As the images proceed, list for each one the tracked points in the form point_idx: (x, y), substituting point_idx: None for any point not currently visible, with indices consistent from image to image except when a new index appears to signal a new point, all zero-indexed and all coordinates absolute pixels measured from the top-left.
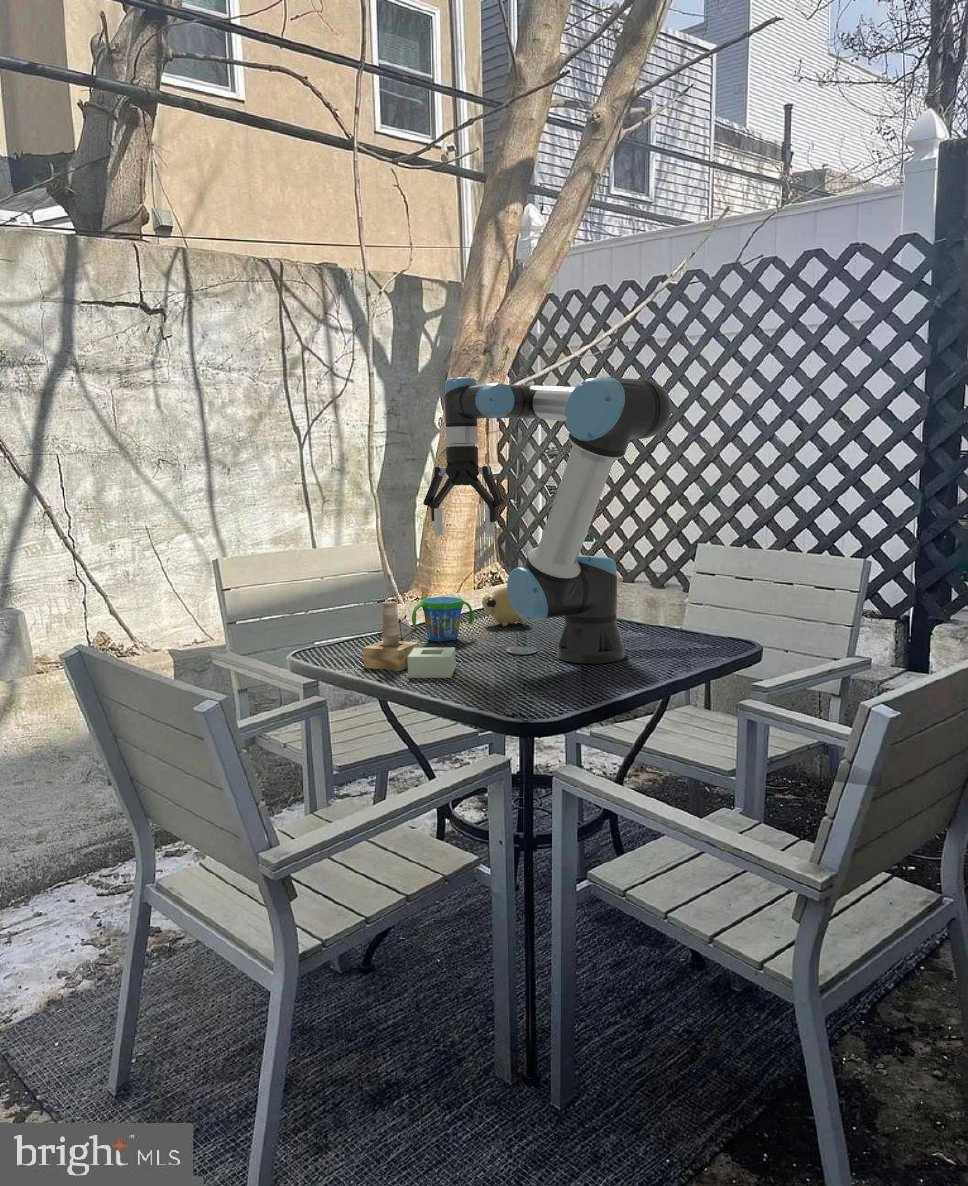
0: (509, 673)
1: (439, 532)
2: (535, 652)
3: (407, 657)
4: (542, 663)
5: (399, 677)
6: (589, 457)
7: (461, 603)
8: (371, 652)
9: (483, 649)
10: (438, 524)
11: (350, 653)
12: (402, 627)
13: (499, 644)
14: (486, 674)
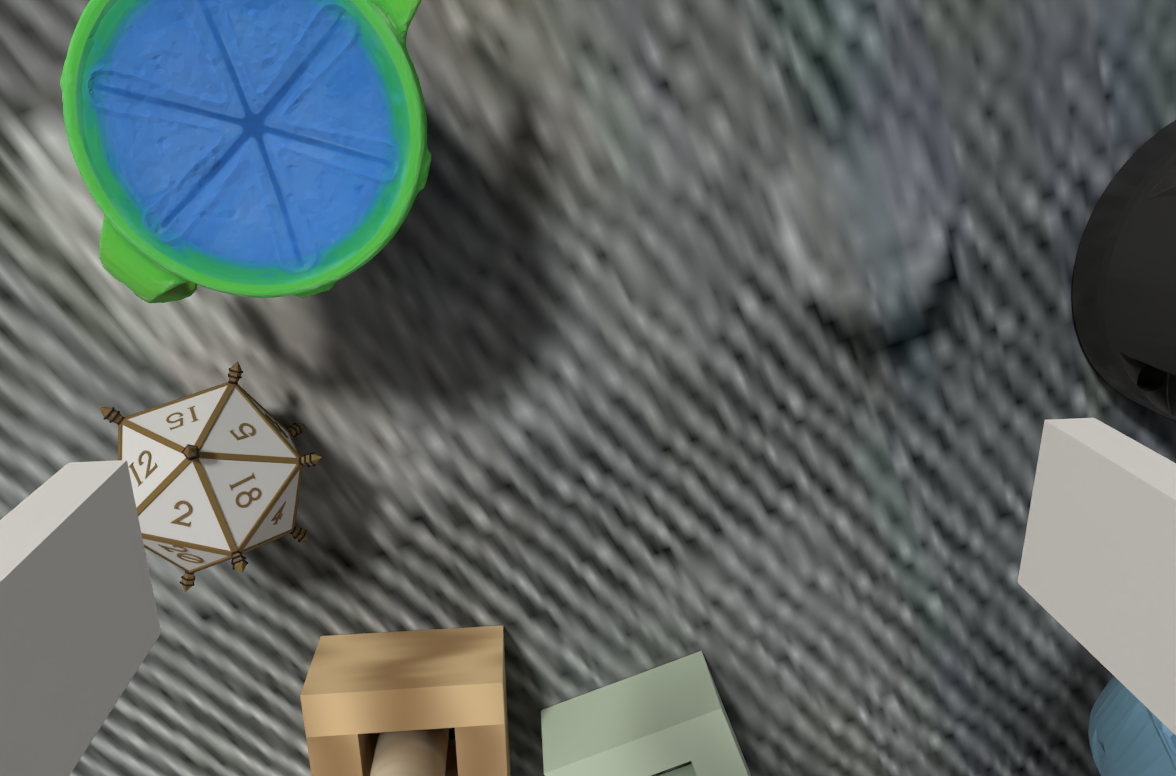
0: (941, 647)
1: (127, 597)
2: (946, 258)
3: (507, 742)
4: (1030, 454)
5: None
6: None
7: (425, 117)
8: None
9: (666, 286)
10: (65, 726)
11: None
12: (264, 533)
13: (698, 134)
14: (860, 690)
